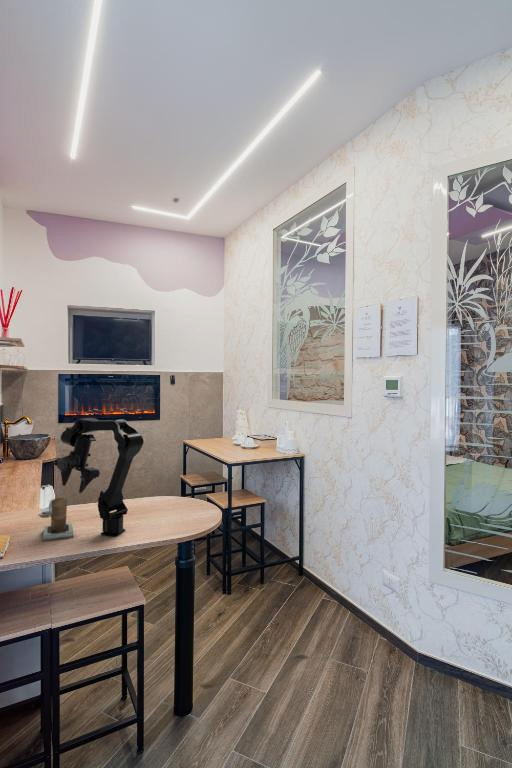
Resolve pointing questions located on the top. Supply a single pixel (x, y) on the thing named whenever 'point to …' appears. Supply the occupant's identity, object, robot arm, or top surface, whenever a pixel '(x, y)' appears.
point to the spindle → (58, 515)
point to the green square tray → (59, 535)
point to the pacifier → (47, 509)
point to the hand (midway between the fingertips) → (72, 489)
